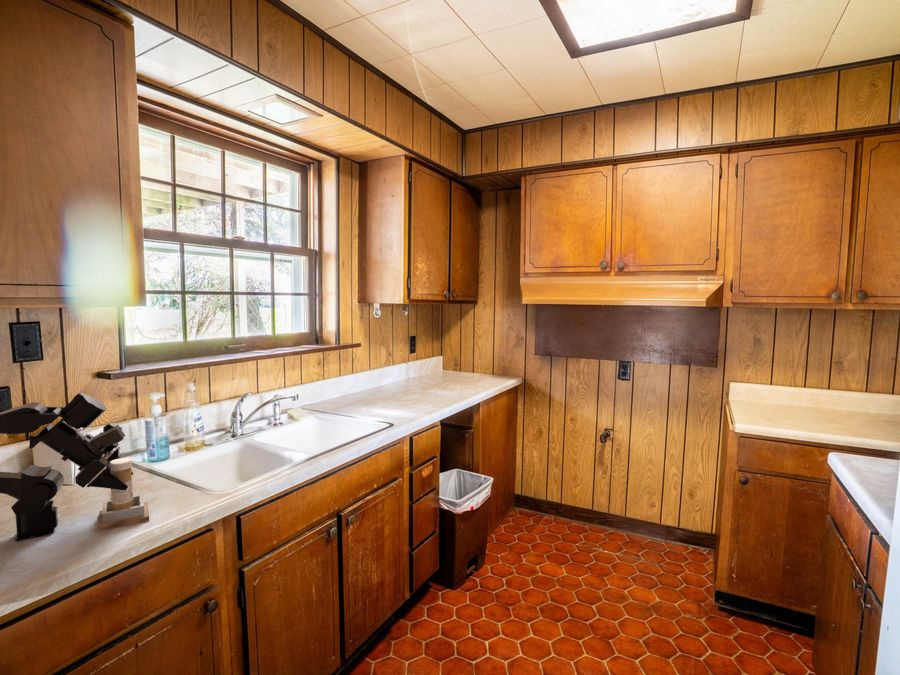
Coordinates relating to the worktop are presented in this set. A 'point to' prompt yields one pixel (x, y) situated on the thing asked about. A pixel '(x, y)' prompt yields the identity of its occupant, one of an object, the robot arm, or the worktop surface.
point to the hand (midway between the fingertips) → (129, 481)
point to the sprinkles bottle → (123, 471)
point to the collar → (123, 511)
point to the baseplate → (123, 522)
